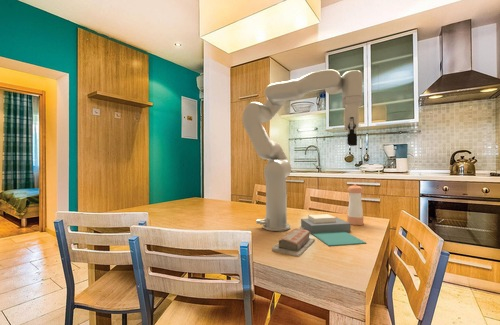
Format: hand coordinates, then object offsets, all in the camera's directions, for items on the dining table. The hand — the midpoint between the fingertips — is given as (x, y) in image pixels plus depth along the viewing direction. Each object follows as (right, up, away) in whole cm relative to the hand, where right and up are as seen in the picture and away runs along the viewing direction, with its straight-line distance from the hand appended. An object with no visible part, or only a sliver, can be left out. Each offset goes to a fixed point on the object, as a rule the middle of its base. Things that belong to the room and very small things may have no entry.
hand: (352, 145), depth 99 cm
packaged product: (-25, -38, -10) cm, 47 cm away
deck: (-8, -37, +12) cm, 40 cm away
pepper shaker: (+10, -37, +21) cm, 44 cm away
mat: (-7, -37, -2) cm, 38 cm away
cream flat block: (-9, -34, +12) cm, 37 cm away
